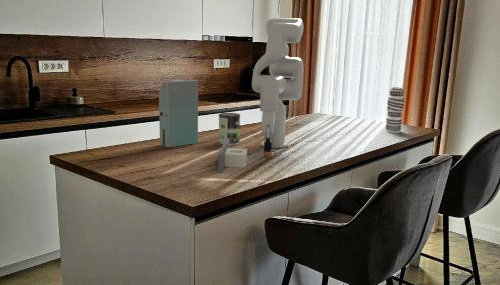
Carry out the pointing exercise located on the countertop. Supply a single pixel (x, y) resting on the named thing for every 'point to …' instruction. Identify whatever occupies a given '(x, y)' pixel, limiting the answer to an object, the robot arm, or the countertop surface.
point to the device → (178, 113)
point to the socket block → (235, 157)
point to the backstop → (223, 155)
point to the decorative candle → (395, 110)
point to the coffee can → (229, 128)
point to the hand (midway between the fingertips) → (267, 150)
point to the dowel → (267, 154)
